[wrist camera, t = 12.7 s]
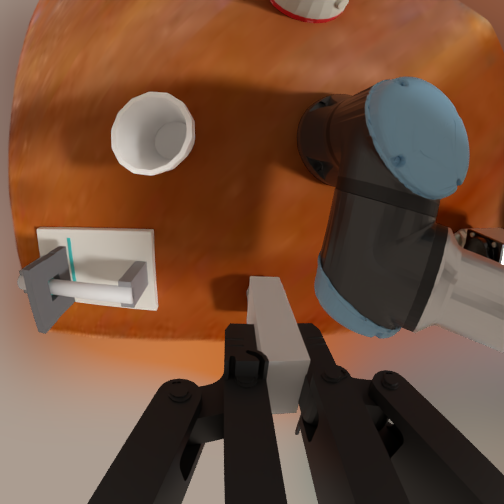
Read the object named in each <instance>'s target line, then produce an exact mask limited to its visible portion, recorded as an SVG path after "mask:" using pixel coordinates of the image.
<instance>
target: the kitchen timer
mask: <svg viewBox="0 0 504 504" xmlns="http://www.w3.org/2000/svg"><path fill="white" fill-rule="evenodd" d="M269 1H270V2H271V3H272V5H273V6H274V7H275V8H277V9H278V10H279V11H280V12H281V13H283V14H285V15H287V16H289V17H291V18H293V19H296V20H300V21H303V22H309V23H324V22H328V21H331V20H334V19H335V18H336V17H338V16H339V15H340V14H341V13H342V12H343V10H344V8H345V6H346V5H347V4H348V2H349V0H269Z"/></svg>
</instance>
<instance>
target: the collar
mask: <svg viewBox="0 0 504 504" xmlns="http://www.w3.org/2000/svg"><path fill="white" fill-rule="evenodd" d="M22 272H23V277H24V282H25V286H26V290H27V294H28V298H29V302H30V305H31V309H32V312H33V316H34V319H35V322H36V325H37V328H38V331H39V332H41V333H45V334H46V333H47V332H48V331H49V329H50V328H51V327H52V326H53V325H54V324H55V323H56V321H57V320H58V319H59V317H60V316H61V315H62V314H63V313H64V312H65V311H66V310H67V309H68V308H69V307H70V306H71V305H72V304H73V303H74V302H75V298H74V297H67V296H60V295H54V294H53V295H51V292H50V288H49V283H48V281H49V280H50V279H52V278H54V279H58V280H67V281H71V277H70V271H69V265H68V258H67V251H66V246H58V247H57V248H55V249H53V250H52V251H50V252H49V253H48V254H46V255H45V256H43V257H42V258H40V259H39V260H36V261H34V262H33V263H31V264H30V265H28V266H27V267H25V268H24V269H22Z"/></svg>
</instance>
